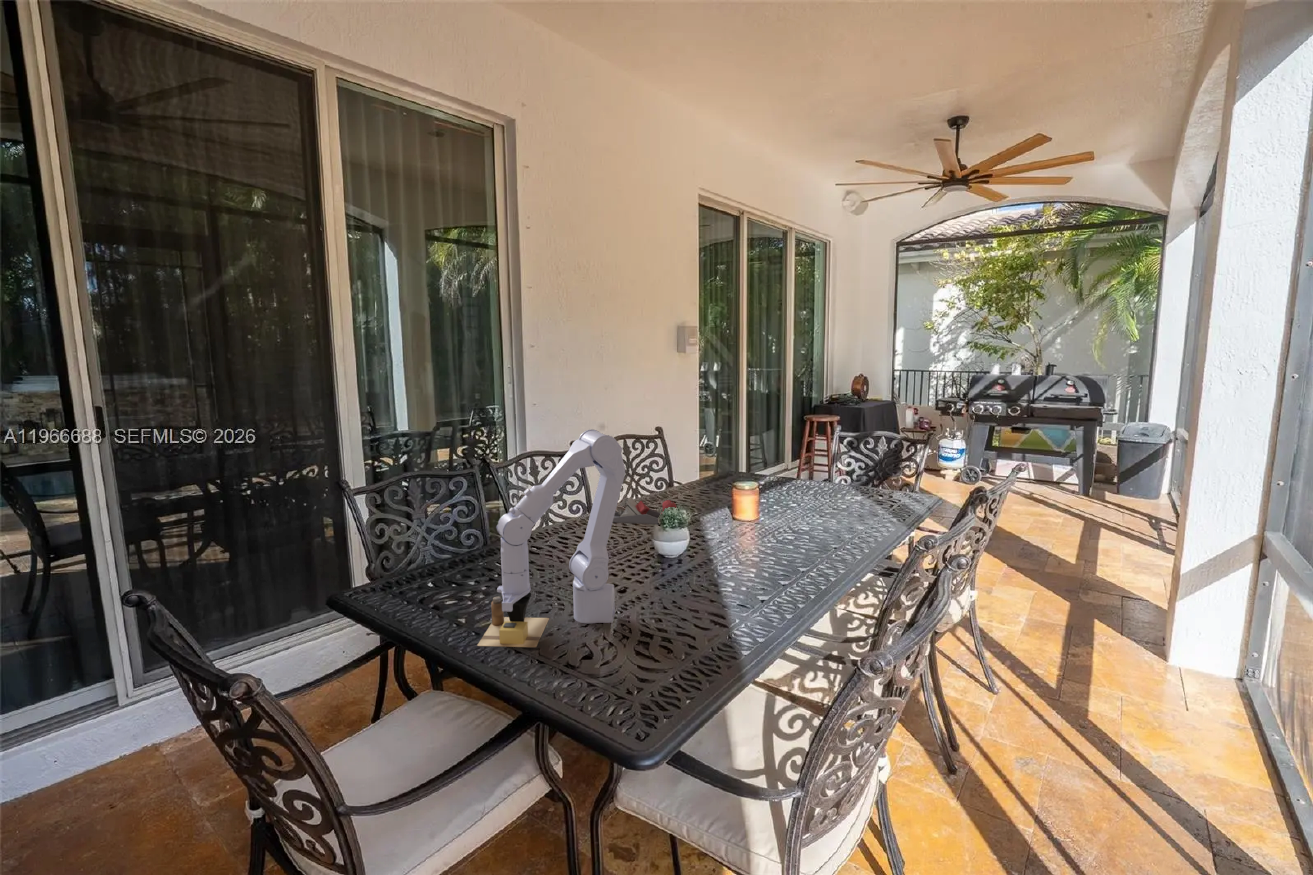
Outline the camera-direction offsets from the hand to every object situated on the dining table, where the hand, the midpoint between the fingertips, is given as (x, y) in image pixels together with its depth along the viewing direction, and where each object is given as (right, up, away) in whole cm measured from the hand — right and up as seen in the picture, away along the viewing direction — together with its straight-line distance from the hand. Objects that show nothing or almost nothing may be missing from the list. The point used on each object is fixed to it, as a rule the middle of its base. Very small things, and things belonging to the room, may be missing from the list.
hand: (517, 627), depth 134 cm
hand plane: (+22, +12, +82) cm, 86 cm away
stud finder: (0, -2, -3) cm, 3 cm away
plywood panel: (-1, -2, +1) cm, 2 cm away
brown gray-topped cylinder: (-5, 0, +4) cm, 7 cm away
